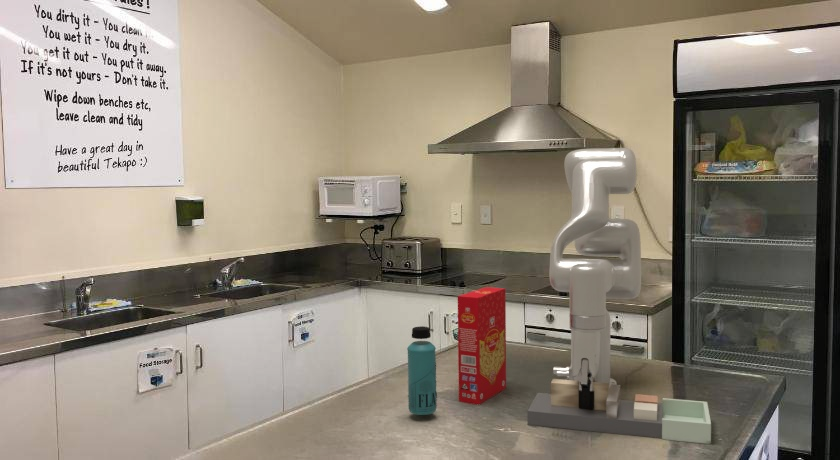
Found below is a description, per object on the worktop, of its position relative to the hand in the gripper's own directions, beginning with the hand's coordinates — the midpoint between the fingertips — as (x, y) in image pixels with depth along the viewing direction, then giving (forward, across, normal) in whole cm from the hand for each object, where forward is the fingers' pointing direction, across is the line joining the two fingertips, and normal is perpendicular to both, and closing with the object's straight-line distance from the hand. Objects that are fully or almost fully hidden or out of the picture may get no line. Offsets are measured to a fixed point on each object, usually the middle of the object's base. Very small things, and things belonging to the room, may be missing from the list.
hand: (587, 405), depth 152 cm
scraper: (0, 0, 0) cm, 0 cm away
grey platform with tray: (+3, 0, +6) cm, 7 cm away
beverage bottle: (+3, +8, -35) cm, 36 cm away
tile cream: (0, +3, +12) cm, 12 cm away
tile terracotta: (0, -3, +12) cm, 12 cm away
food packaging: (+3, -11, -26) cm, 28 cm away
